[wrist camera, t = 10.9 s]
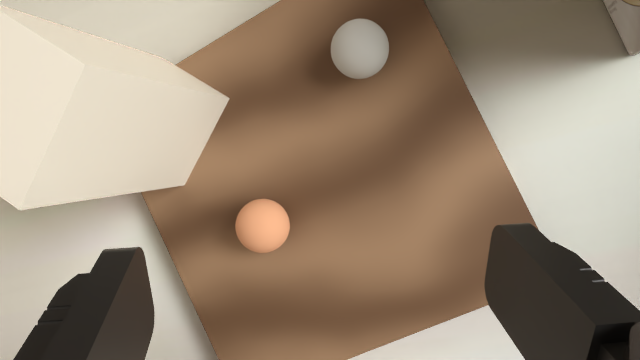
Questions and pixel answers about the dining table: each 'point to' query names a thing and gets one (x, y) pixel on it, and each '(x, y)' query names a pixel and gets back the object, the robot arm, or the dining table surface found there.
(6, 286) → the dining table surface
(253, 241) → the ball
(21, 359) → the robot arm
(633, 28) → the coffee box
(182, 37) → the dining table surface
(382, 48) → the grey ball
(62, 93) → the cream tall block
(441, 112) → the board
